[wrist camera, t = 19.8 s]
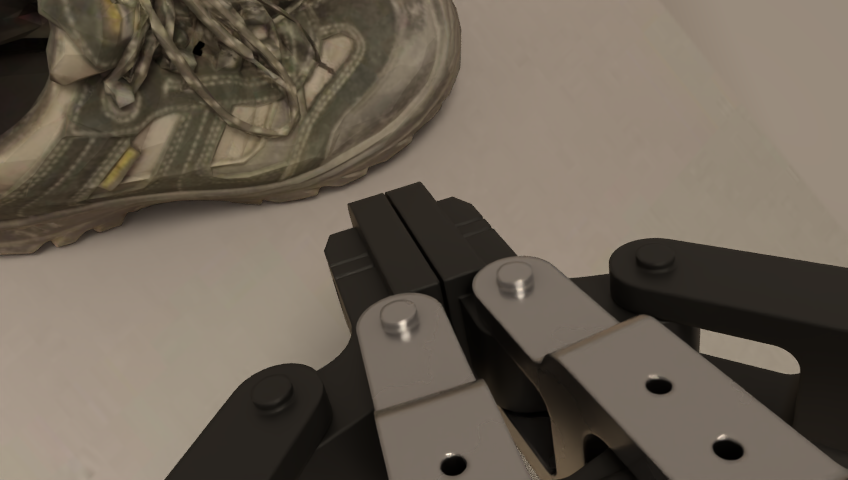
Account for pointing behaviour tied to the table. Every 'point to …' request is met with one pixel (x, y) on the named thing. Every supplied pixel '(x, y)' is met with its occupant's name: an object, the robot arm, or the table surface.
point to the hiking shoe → (204, 102)
